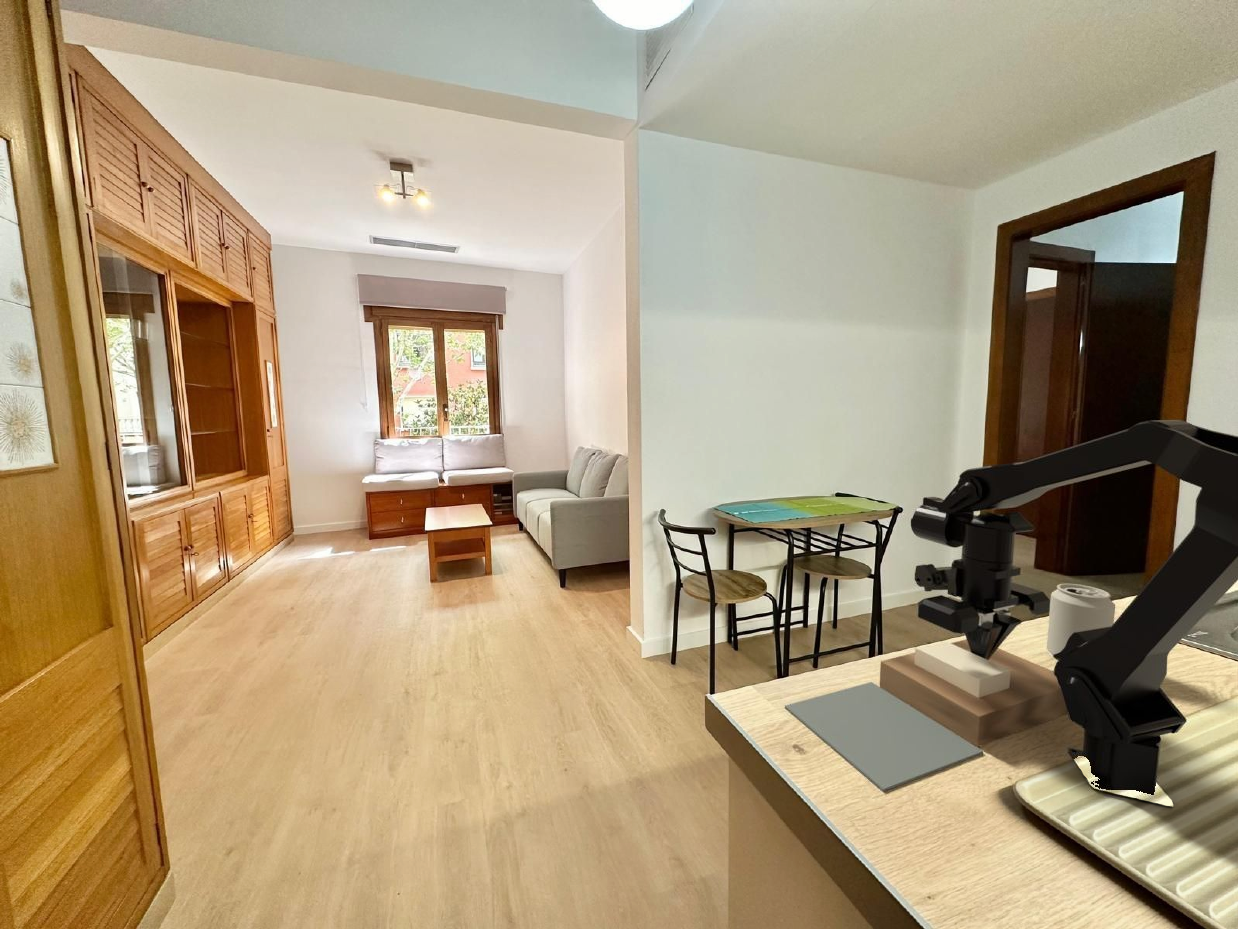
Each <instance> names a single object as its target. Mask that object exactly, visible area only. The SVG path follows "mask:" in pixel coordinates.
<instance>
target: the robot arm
mask: <svg viewBox="0 0 1238 929" xmlns="http://www.w3.org/2000/svg"><path fill="white" fill-rule="evenodd" d="M1151 464H1154V465H1156V466H1157V467H1159V468H1161V470H1164V471H1166V472H1167V473H1169V474H1170V475H1172V476H1174V477H1175V478H1177V479H1179V480H1181V481H1183V482H1186V483H1187V484H1188V483H1189V484H1191V485H1193V486H1196V487H1198V488H1200V490H1199V493H1198V494H1197V496H1196V498H1195V510H1194V524H1193V526H1192V529H1191V530H1190V531H1189V532H1188V534H1187V535H1186V536H1185V537H1184V538H1183V540H1182V541H1181V542H1180V543H1179V545H1177V546H1176V548H1175V549H1174V550H1173V551H1172V553H1171V554H1170V555H1169V556H1168V558H1167V559H1166V560H1165V562H1164V563H1163V564H1162V565H1161V566H1160V567H1159V568H1158V570H1156V572H1155V573H1154V574H1153V576H1152V577H1151V578H1150V579H1149V580H1148V582H1147V583H1146V584H1145V585H1144V587H1143V588H1142V589H1141V590H1140V591H1139V593H1137V595H1136V596H1135V597H1134V599H1133V600H1132V601H1131V602H1130V603H1129V604H1128V606H1126V608H1125V609H1124V610H1123V612H1122V613H1121V615H1119V617H1118V618H1117V619H1116V620H1114V624H1113V625H1112V626H1110V627H1104V628H1098V629H1092V630H1086V631H1079V632H1074V633H1073V634H1072V635H1071V636H1070V637H1069V639H1068V641H1067V643H1066V646H1065V647H1064V649H1063V650H1062V651H1061V652H1059V653H1057V654H1054V655H1052V656H1053V658H1054V659H1056V660H1058V659H1060V660H1058V661H1057V662H1056V663H1055V666H1054V667H1053V671H1054V675H1055V676H1056V677H1057V680H1058V684H1059V685H1060V687H1061V690H1062V694H1063V697H1064V700H1065V704H1066V707H1067V711H1068V718H1069V720H1070V721H1071V722H1073V723H1075V724H1077V725H1079V727H1080V726H1081V727H1082V729H1084V731H1083V732H1084V734H1083V741H1082V742H1083V743H1082V749H1079V748H1078V749H1076V748H1072V747H1069V748H1067V754H1068V755H1069V757H1070V758H1071V759H1072V760H1073V759H1075V758H1077V757H1078V756H1084V757H1086V758H1087V759H1088V760H1089V762H1090V766H1091V773H1092V774H1093V775H1095V777H1098V778H1099V779H1100V780H1099V779H1098V781H1095V783H1097V784H1099V786H1098V785H1095V787H1098V788H1099V789H1100V788H1101V789H1106V790H1136V791H1139V792H1140V791H1141V792H1143V793H1147V794H1151V795H1154V792H1155V786H1156V782H1157V779H1158V769H1159V762H1160V752H1161V745H1162V744H1161V743H1162V736H1164V735H1168V734H1177V733H1178V732H1179V731H1180V730H1181V729H1182V728H1183V726H1185V724H1186V723H1187V718H1186V717H1185V715H1184V714H1183V713H1182V711H1180V710H1179V709H1178V707H1177V706H1176V705H1175V704H1174V703H1173V701H1172V700H1171V699H1170V697H1169V696H1168V695H1167V693H1165V691H1163V689H1162V688H1161V686H1162V684H1163V682H1164V680H1165V678H1166V676H1167V674H1168V656H1169V654H1170V653H1171V651H1172V650H1173V649H1174V648H1175V646H1177V645H1178V644H1179V642H1180V641H1181V640H1182V639H1183V638H1184V637H1186V635H1187V634H1188V633H1189V632H1190V631H1191V630H1192V629H1193V628H1194V627H1195V626H1196V624H1198V623H1199V621H1201V619H1202V618H1203V617H1204V616H1205V615H1206V614H1207V613H1208V612H1209V611H1210V610H1211V609H1213V607H1214V606H1215V605H1217V603H1218V602H1219V601H1220V600H1221V599H1222V597H1224V596H1225V594H1227V592H1228V591H1229V590H1230V589H1231V588H1232V587H1233V586H1234V585H1235V584H1236V583H1237V582H1238V435H1234V434H1230V433H1224V432H1221V431H1216V430H1211V429H1208V428H1204V427H1201V426H1198V425H1195V424H1192V423H1190V422H1189V421H1185V420H1177V419H1165V420H1163V419H1161V420H1160V419H1159V420H1145V421H1141V422H1138V423H1135V425H1133V426H1131V427H1129V428H1127V429H1123V430H1120V431H1117V432H1115V433H1114V432H1113V433H1112V434H1108V435H1105V436H1101V437H1098V438H1096V439H1092V440H1089V441H1086V442H1082V443H1080V444H1077V445H1073V446H1069V447H1067V448H1064V449H1060V450H1057V451H1054V452H1051V453H1048V454H1045V455H1041V456H1039V457H1035V458H1032V459H1029V460H1026V461H1020V462H1013V463H1004V464H995V465H994V464H993V465H988V466H987V465H986V466H981V467H980V466H979V467H974V468H973V467H972V468H969V469H965V470H963V472H961V473H960V474H959V476H958V477H959V479H958V481H957V484H956V485H955V486H954V488H952V489H951V491H950V492H949V493H948V495H946V497H945V498H940V497H937V496H928V497H927V496H925V497H923V498H922V504H921V505H920V506H918V507H917V508H916V510H915V511H914V513H913V515H912V517H911V518H910V527H911V528H910V529H911V531H912V532H913V534H914V535H915V537H917V538H920V539H923V540H927V541H930V542H932V543H933V542H934V543H937V544H940V545H943V546H946V547H950V548H954V549H955V548H956V549H957V548H959V547H961V558H959V559H954V560H953V561H952V562H951V566H940V567H935V565H934V564H933V563H928V564H924V563H923V564H918V565H916V566H915V571H914V581H915V584H916V585H917V586H918V587H920V588H923V589H924V592H932V591H945V590H946V591H947V595H948V596H951V597H955V598H957V597H958V598H960V601H958V600H956V599H953V598H951V597H947V596H945V595H936V596H931V597H926V598H923V599H921V600H919V601H918V602H917V609H916V610H917V611H916V612H917V613H916V615H917V618H919V619H921V620H923V621H926V622H928V623H930V624H933V625H935V626H937V627H940V628H941V629H945V630H947V631H949V632H951V633H954V634H964V636H965V638H966V639H967V641H968V644H969V647H970V650H971V653H973V654H975V655H978V656H980V657H982V658H984V659H986V660H989V659H990V657H991V656H992V655H993V654H994V652H995V651H996V650H997V649H998V648H999V647H1000V646H1001V645H1002V644H1003V642H1004V641H1005V640H1006V639H1007V638H1008V637H1009V636H1010V634H1011V633H1012V632H1013V631H1014V630H1015V629H1016V628H1017V627H1018V626H1019V625H1021V623H1022V620H1021V619H1020V618H1017V617H1014V616H1011V612H1012V611H1010V610H1009V609H1010V608H1014V607H1018V606H1023V605H1024V606H1026V607H1028V609H1029V612H1030V613H1031V615H1035V616H1039V615H1043V614H1047V613H1048V614H1049V613H1050V601H1051V598H1049V597H1048V596H1047V595H1046V593H1044V591H1042V590H1039V589H1036V588H1033V587H1028V586H1025V585H1024V584H1023V585H1022V584H1020V583H1015V582H1013V581H1012V580H1013V577H1016V576H1021V570H1022V567H1019V566H1014V557H1015V556H1014V554H1015V542H1016V533H1025V532H1033V531H1034V530H1035V526H1034V525H1033V524H1032V523H1031V522H1029V520H1027V519H1026V518H1025V517H1023V515H1022V514H1021V512H1020V511H1013V512H1005V514H998V513H994V512H989V511H994V510H1001V509H1009V508H1010V509H1012V508H1016V507H1020V506H1022V505H1024V504H1027V503H1029V502H1031V501H1033V500H1036V499H1038V498H1040V497H1041V496H1042V495H1044V494H1045V493H1047V492H1048V491H1051V490H1053V489H1056V488H1059V487H1062V486H1067V485H1070V484H1074V483H1075V484H1076V483H1079V482H1082V481H1087V480H1091V479H1094V478H1099V477H1102V476H1107V475H1110V474H1111V475H1112V474H1115V473H1118V472H1122V471H1127V470H1130V469H1134V468H1135V469H1136V468H1139V467H1142V466H1147V465H1151ZM983 511H984V512H983ZM985 511H988V512H985ZM975 512H981V513H980V514H978V515H975V514H974V513H975ZM966 639H965V640H966ZM1093 782H1094V781H1093ZM1093 782H1091V784H1093V785H1094V783H1093Z"/></svg>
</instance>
